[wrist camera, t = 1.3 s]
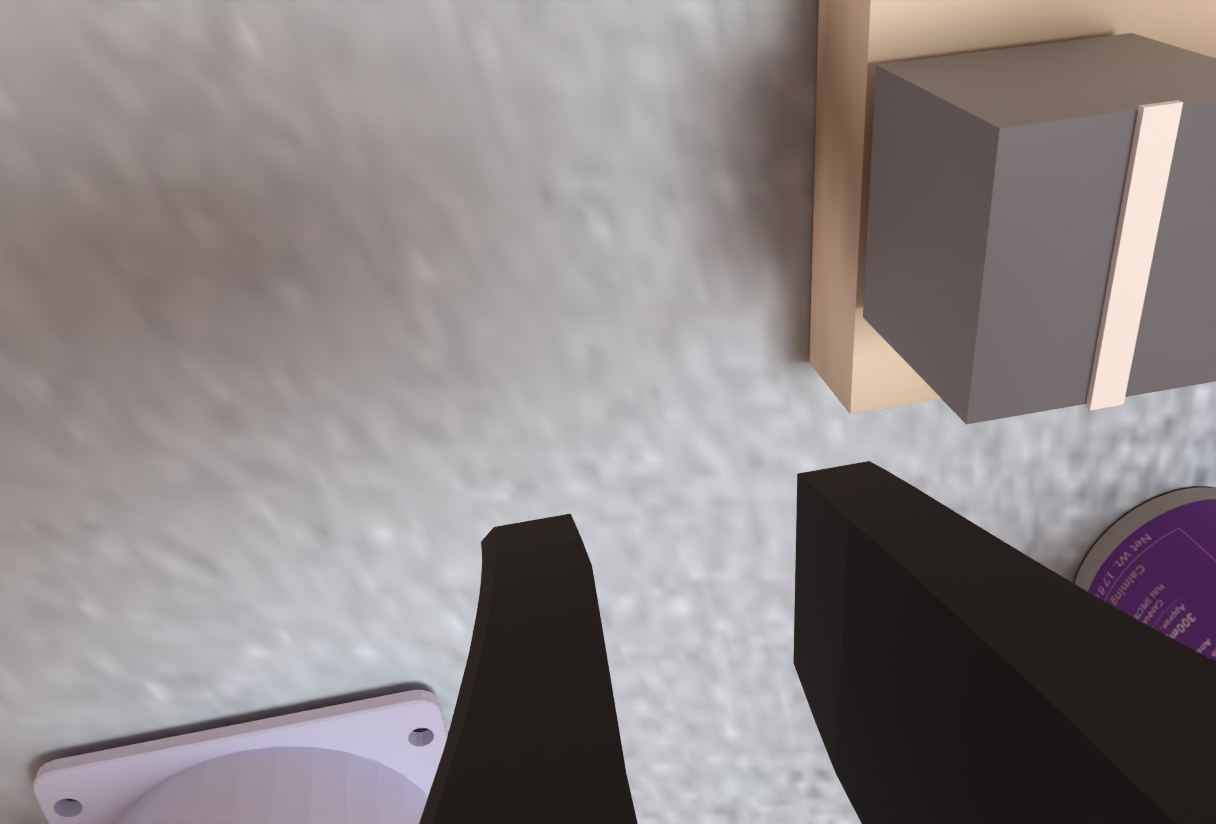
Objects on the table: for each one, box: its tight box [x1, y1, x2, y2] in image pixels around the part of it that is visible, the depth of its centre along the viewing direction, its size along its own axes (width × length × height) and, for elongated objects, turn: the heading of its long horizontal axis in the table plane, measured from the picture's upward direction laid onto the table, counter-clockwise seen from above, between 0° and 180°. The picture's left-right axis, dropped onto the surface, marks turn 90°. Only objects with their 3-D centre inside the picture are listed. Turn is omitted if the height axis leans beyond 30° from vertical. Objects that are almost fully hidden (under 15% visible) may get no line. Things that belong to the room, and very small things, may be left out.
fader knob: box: [863, 33, 1216, 424], centre depth 15 cm, size 4×4×4 cm
